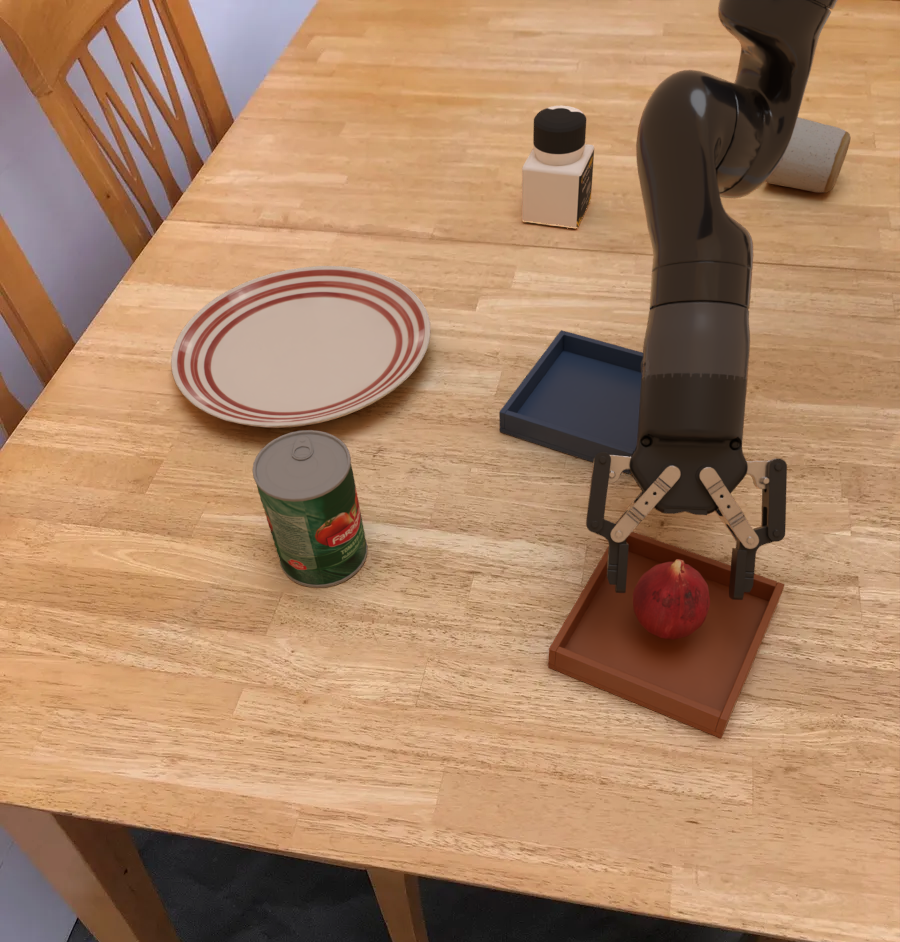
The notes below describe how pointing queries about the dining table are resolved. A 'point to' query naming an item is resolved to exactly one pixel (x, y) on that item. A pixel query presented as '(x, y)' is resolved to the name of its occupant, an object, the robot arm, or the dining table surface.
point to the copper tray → (666, 640)
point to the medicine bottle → (558, 168)
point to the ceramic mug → (812, 157)
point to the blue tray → (578, 399)
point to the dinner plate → (301, 346)
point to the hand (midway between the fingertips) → (677, 595)
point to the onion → (671, 600)
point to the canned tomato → (312, 507)
